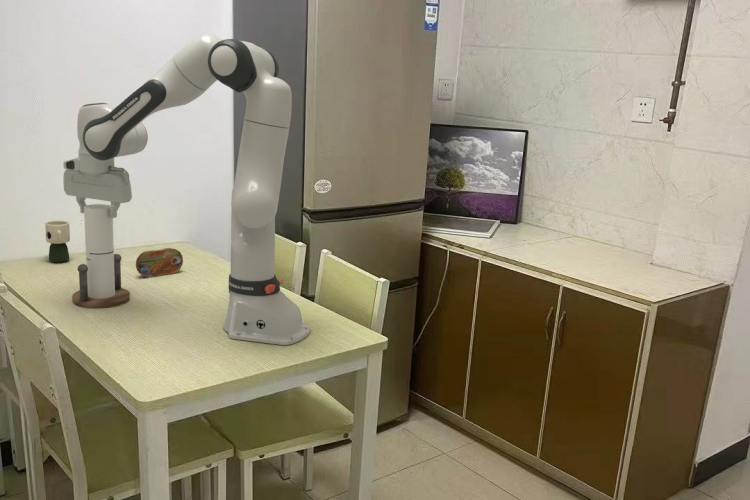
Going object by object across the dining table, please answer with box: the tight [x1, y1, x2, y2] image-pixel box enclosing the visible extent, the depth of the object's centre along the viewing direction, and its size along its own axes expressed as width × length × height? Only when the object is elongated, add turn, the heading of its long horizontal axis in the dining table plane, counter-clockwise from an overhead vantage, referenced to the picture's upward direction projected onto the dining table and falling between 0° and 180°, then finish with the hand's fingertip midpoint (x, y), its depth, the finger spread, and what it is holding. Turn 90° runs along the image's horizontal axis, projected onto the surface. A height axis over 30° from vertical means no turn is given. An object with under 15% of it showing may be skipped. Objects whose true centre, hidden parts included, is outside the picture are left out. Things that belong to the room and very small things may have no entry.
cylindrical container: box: [83, 203, 115, 299], centre depth 190 cm, size 7×7×25 cm
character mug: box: [44, 220, 71, 263], centre depth 225 cm, size 11×7×13 cm, turn 30°
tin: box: [135, 247, 184, 279], centre depth 219 cm, size 15×3×8 cm, turn 133°
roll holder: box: [71, 253, 131, 309], centre depth 192 cm, size 15×16×12 cm
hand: (98, 215), depth 188 cm, fingers open, 8 cm apart
